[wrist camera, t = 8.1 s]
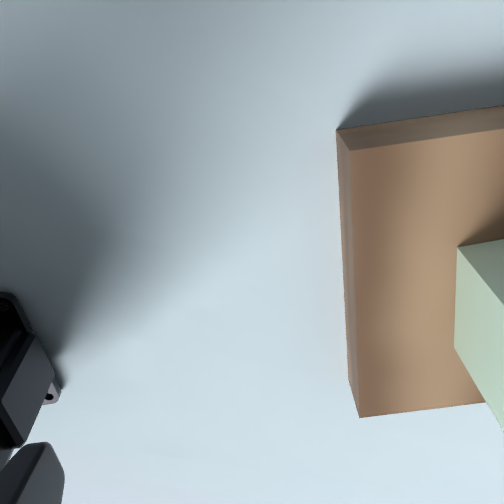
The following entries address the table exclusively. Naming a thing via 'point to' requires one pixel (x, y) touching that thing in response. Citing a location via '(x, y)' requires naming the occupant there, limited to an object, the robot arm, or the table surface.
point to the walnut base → (414, 251)
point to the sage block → (482, 319)
